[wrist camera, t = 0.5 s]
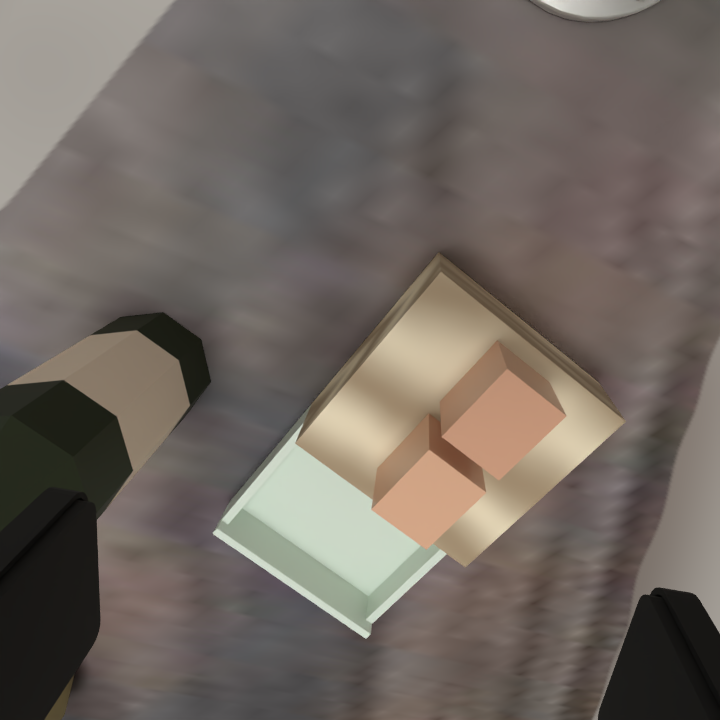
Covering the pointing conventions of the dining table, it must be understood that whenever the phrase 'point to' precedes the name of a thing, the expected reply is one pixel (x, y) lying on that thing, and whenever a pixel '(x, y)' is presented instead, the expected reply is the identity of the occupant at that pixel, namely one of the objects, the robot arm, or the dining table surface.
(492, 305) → the plate
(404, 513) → the block
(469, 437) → the block
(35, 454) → the wine bottle
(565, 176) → the dining table surface
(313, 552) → the tray
